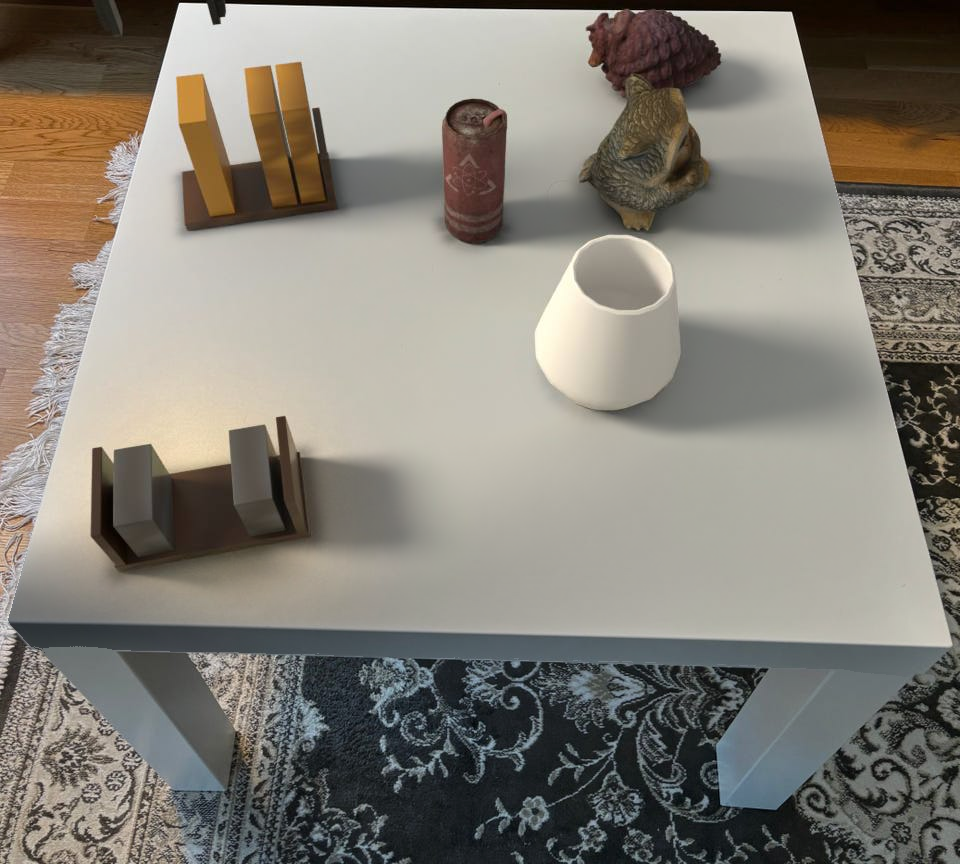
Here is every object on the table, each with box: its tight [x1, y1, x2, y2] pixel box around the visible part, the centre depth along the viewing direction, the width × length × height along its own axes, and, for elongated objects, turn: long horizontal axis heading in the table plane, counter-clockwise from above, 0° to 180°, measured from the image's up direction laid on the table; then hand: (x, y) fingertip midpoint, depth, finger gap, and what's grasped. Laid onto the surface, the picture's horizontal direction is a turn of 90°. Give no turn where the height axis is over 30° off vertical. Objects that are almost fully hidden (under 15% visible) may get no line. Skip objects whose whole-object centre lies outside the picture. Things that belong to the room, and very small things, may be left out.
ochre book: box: [175, 73, 235, 217], centre depth 90 cm, size 3×7×12 cm, turn 12°
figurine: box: [578, 74, 711, 232], centre depth 90 cm, size 14×15×15 cm
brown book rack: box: [89, 415, 312, 573], centre depth 74 cm, size 16×8×7 cm, turn 102°
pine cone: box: [585, 8, 722, 99], centre depth 103 cm, size 18×10×10 cm
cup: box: [534, 234, 682, 411], centre depth 79 cm, size 13×13×14 cm
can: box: [441, 98, 508, 245], centre depth 88 cm, size 6×6×14 cm
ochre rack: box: [181, 61, 339, 231], centre depth 91 cm, size 16×8×13 cm, turn 102°
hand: (167, 25), depth 78 cm, fingers open, 8 cm apart
